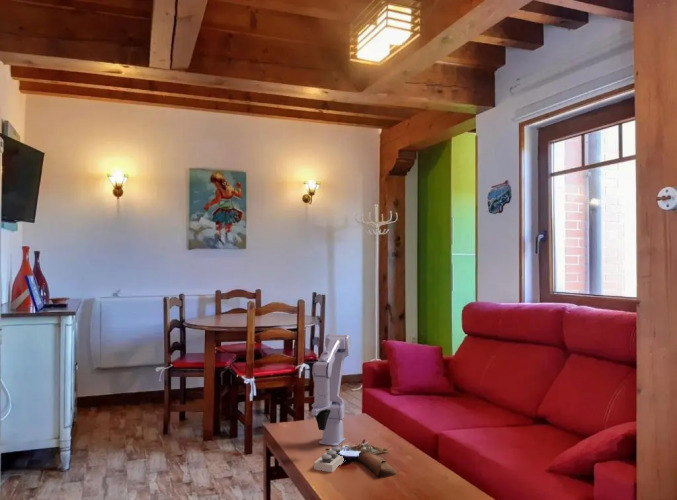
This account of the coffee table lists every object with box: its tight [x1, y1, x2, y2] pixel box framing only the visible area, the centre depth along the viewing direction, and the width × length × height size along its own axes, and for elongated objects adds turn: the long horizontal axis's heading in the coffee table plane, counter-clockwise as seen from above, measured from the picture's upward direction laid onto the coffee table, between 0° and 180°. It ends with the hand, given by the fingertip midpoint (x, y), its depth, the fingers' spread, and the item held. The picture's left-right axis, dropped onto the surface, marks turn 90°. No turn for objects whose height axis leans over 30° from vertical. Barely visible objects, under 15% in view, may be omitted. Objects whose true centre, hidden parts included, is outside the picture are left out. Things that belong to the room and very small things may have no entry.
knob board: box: [313, 448, 345, 473], centre depth 197 cm, size 15×7×2 cm, turn 158°
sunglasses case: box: [357, 451, 399, 479], centre depth 194 cm, size 18×7×7 cm
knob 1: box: [321, 453, 332, 463], centre depth 193 cm, size 4×4×4 cm
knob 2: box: [330, 445, 342, 455], centre depth 201 cm, size 4×4×4 cm
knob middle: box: [326, 449, 337, 459], centre depth 197 cm, size 4×4×4 cm
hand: (321, 429), depth 207 cm, fingers closed
